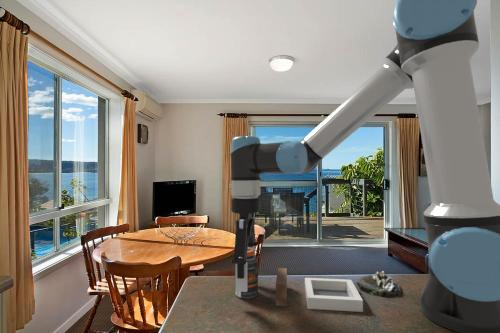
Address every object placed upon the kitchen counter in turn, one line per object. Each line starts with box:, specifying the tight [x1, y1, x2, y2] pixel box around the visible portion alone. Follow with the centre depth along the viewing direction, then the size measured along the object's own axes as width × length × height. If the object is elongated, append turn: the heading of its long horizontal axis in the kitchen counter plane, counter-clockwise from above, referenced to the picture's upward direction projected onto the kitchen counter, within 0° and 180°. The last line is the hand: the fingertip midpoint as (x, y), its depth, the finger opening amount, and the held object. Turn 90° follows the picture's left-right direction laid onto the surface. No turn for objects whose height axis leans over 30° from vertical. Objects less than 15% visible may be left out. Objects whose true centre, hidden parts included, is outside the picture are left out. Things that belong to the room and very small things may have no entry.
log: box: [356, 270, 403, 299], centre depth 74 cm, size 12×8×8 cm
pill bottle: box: [234, 248, 259, 299], centre depth 71 cm, size 6×6×11 cm
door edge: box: [275, 267, 288, 307], centre depth 70 cm, size 2×11×5 cm, turn 172°
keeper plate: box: [304, 277, 364, 313], centre depth 68 cm, size 12×12×2 cm
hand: (246, 279), depth 71 cm, fingers open, 13 cm apart
